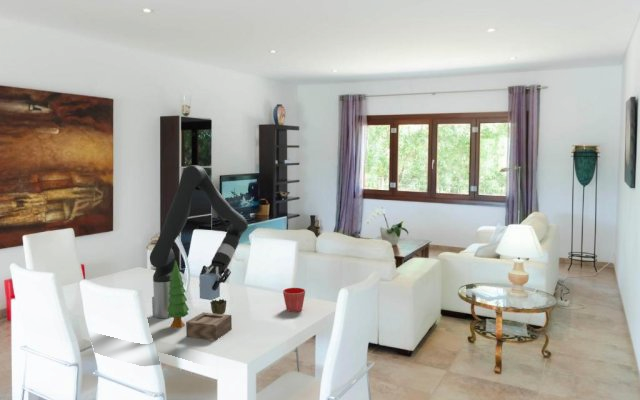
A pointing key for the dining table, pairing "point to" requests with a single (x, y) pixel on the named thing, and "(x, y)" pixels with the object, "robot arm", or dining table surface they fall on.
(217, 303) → the cup
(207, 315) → the square wooden tray
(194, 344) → the dining table surface
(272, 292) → the dining table surface
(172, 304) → the decorative tree
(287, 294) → the flower pot
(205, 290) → the blue-grey square-topped block
